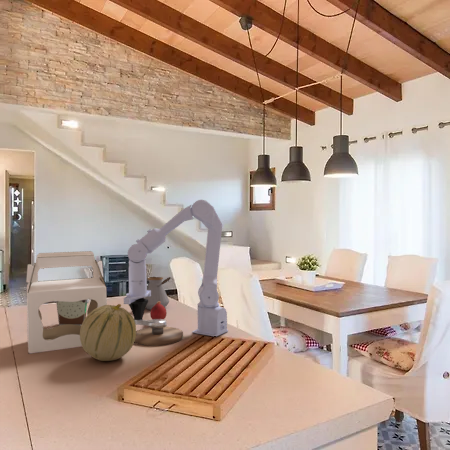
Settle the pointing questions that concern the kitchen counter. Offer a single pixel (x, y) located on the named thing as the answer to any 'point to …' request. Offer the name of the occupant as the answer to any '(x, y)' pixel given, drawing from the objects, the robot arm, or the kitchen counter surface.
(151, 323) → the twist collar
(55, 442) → the kitchen counter surface
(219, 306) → the robot arm
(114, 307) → the cantaloupe
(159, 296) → the coffee pot
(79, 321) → the food container
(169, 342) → the base
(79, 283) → the gable box
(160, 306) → the onion
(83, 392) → the kitchen counter surface
